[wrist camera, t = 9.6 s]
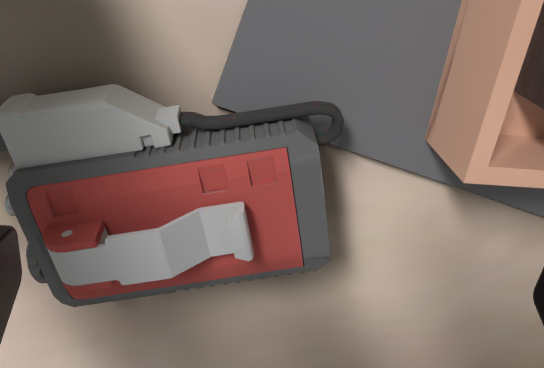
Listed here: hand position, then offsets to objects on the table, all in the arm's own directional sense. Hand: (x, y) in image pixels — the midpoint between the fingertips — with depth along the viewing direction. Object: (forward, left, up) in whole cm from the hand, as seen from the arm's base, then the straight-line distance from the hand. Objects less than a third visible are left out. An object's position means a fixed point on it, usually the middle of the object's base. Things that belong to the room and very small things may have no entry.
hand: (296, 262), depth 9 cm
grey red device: (-4, -7, -13) cm, 15 cm away
